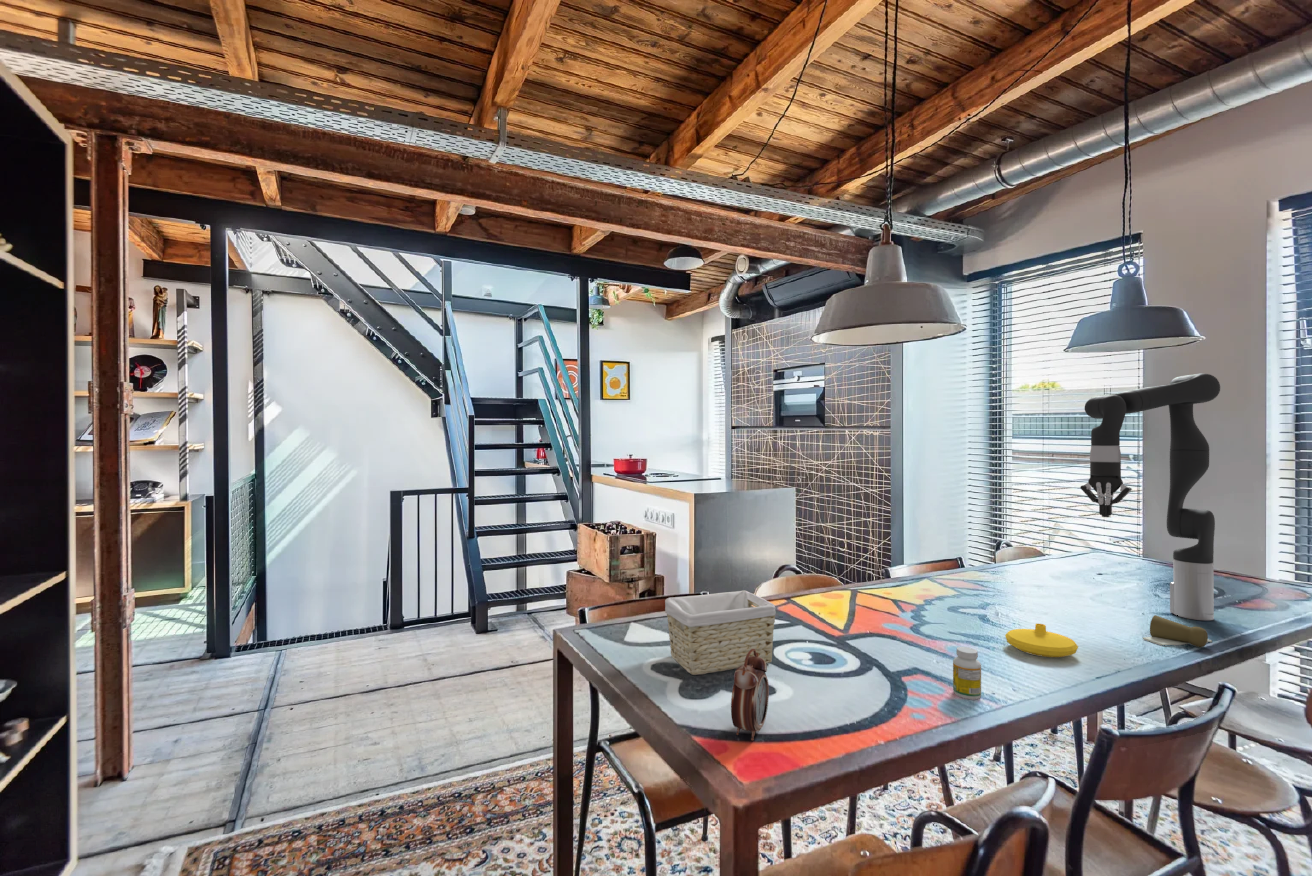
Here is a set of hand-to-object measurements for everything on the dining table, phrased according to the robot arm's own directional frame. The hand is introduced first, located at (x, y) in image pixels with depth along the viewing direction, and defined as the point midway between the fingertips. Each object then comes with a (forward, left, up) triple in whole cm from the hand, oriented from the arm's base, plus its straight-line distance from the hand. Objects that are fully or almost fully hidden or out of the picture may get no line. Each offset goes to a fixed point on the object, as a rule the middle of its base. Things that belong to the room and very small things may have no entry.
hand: (1105, 516), depth 181 cm
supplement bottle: (+40, -81, -31) cm, 96 cm away
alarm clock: (+46, -132, -31) cm, 143 cm away
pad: (+21, 0, -31) cm, 37 cm away
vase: (+21, -44, -31) cm, 58 cm away
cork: (+17, -4, -28) cm, 33 cm away
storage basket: (+11, -127, -31) cm, 131 cm away
